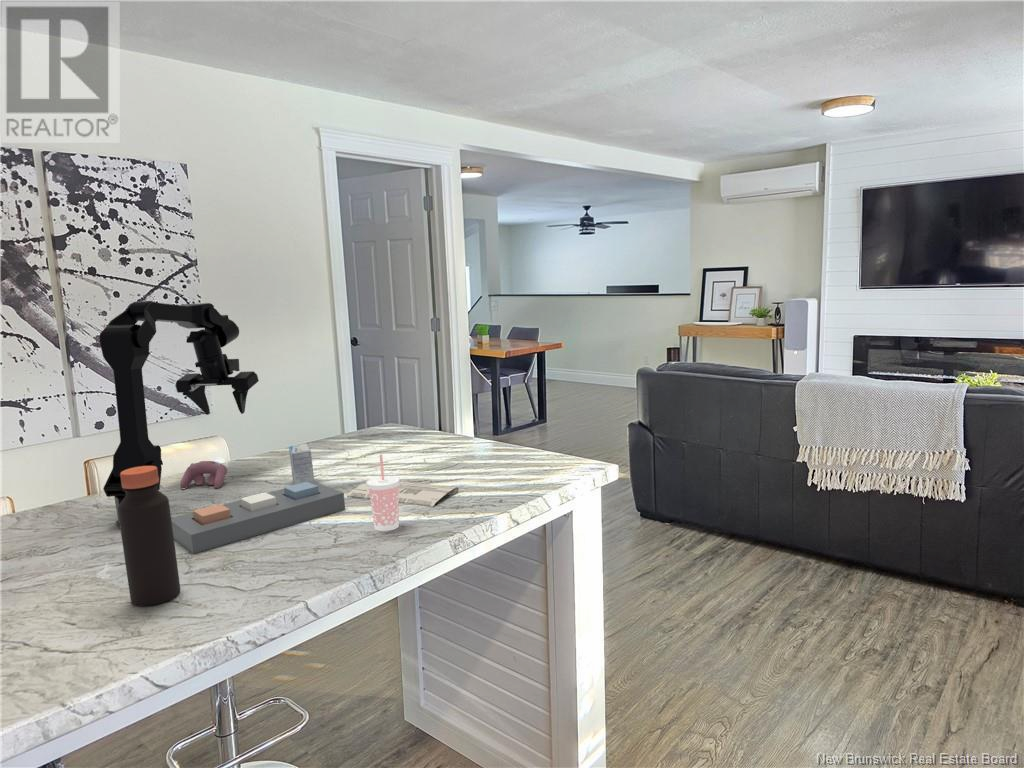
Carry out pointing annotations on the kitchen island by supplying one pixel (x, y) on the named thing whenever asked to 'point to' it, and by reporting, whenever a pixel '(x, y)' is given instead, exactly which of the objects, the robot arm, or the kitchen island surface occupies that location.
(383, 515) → the beverage cup
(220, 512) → the terracotta key
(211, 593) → the kitchen island surface
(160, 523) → the bottle
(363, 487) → the newspaper
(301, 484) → the slate blue key
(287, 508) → the key panel
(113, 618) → the kitchen island surface
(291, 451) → the medicine box
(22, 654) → the kitchen island surface
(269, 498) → the offwhite key
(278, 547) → the kitchen island surface
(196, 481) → the video game controller
